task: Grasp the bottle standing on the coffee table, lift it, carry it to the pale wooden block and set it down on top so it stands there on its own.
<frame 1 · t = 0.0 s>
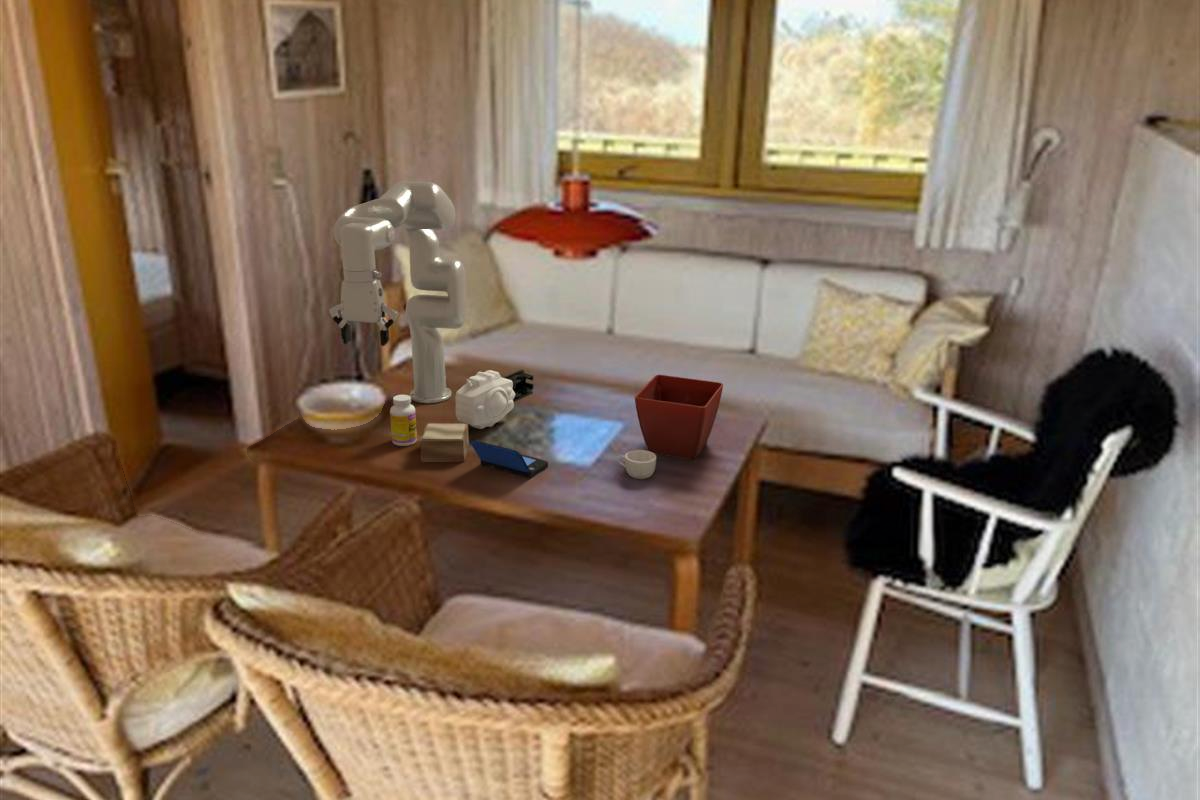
hand: (365, 343, 229), 31 cm above the table, fingers open, 9 cm apart
supplement bottle: (404, 442, 250), on the table
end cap: (515, 395, 284), on the table
teacup: (636, 475, 233), on the table
camera: (487, 426, 261), on the table
pale wooden block: (445, 452, 243), on the table
plant pot: (677, 448, 248), on the table
handheld game console: (510, 470, 235), on the table
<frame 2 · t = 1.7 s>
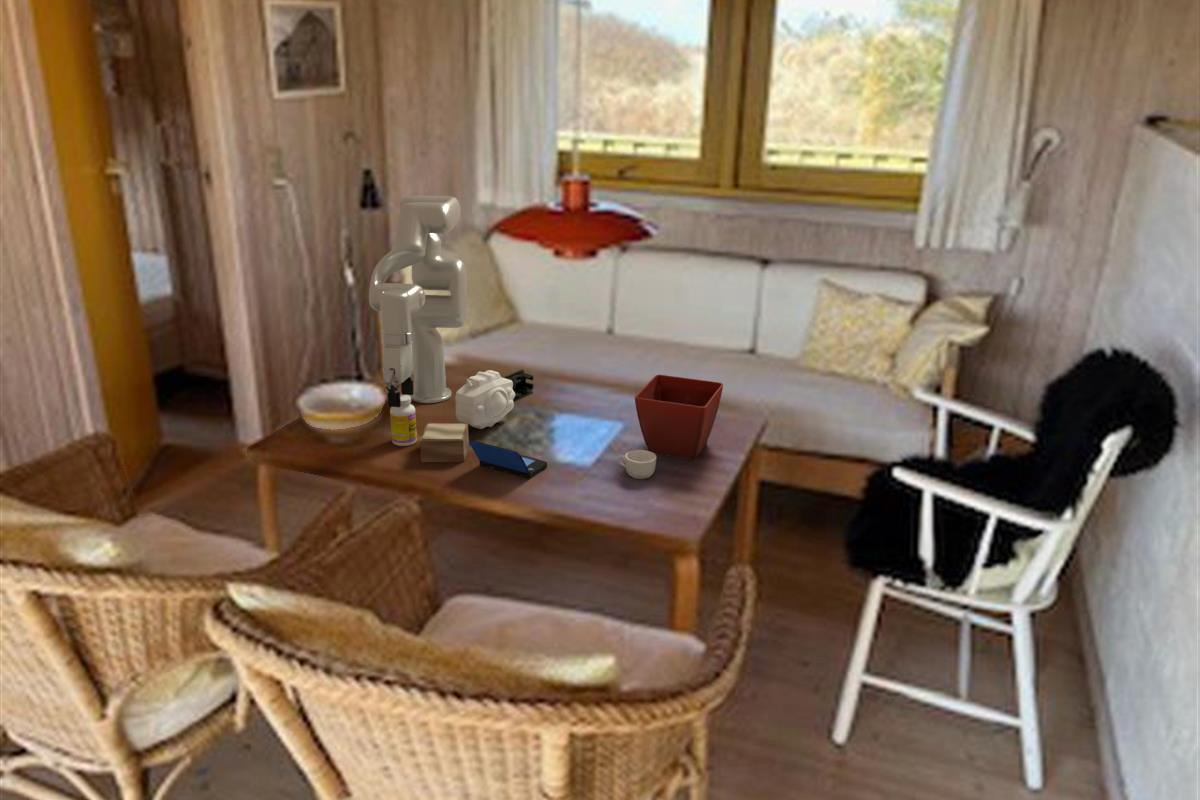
hand: (401, 400, 244), 12 cm above the table, fingers open, 9 cm apart
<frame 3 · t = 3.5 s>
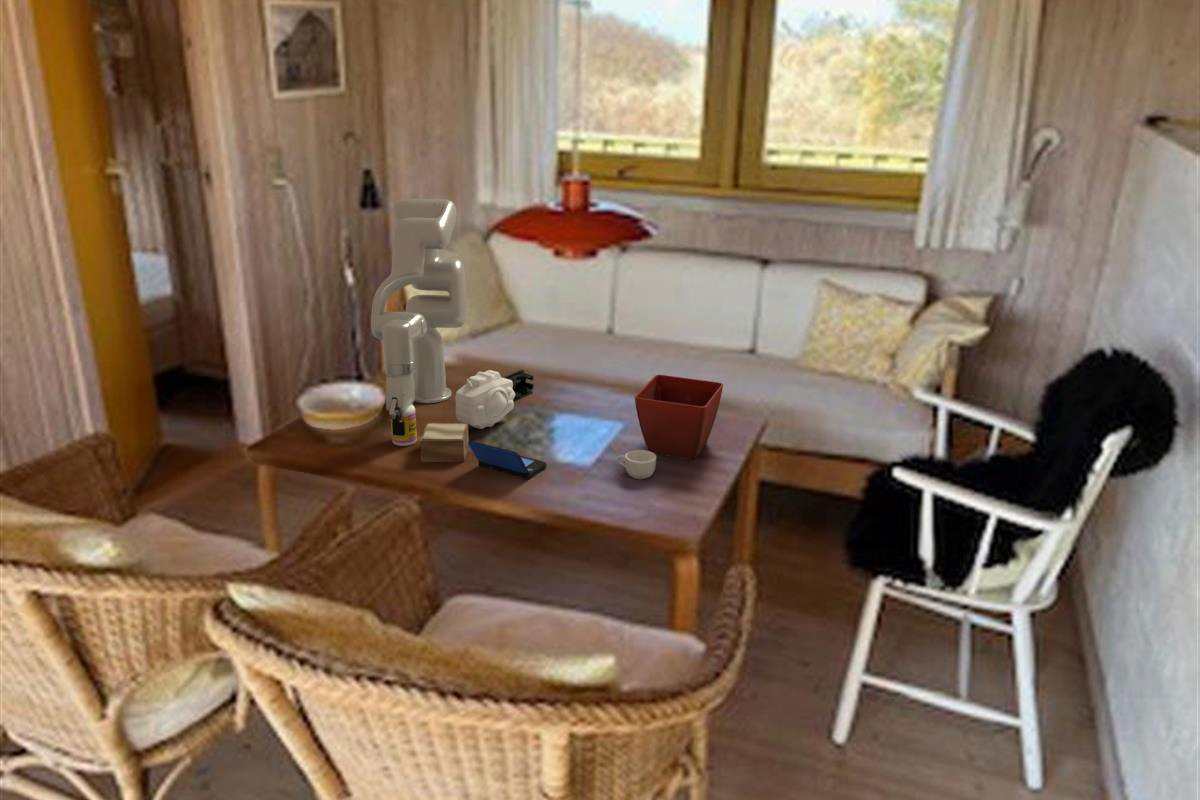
hand: (403, 429, 248), 4 cm above the table, fingers closed on supplement bottle, 6 cm apart
supplement bottle: (404, 442, 250), on the table, touching gripper
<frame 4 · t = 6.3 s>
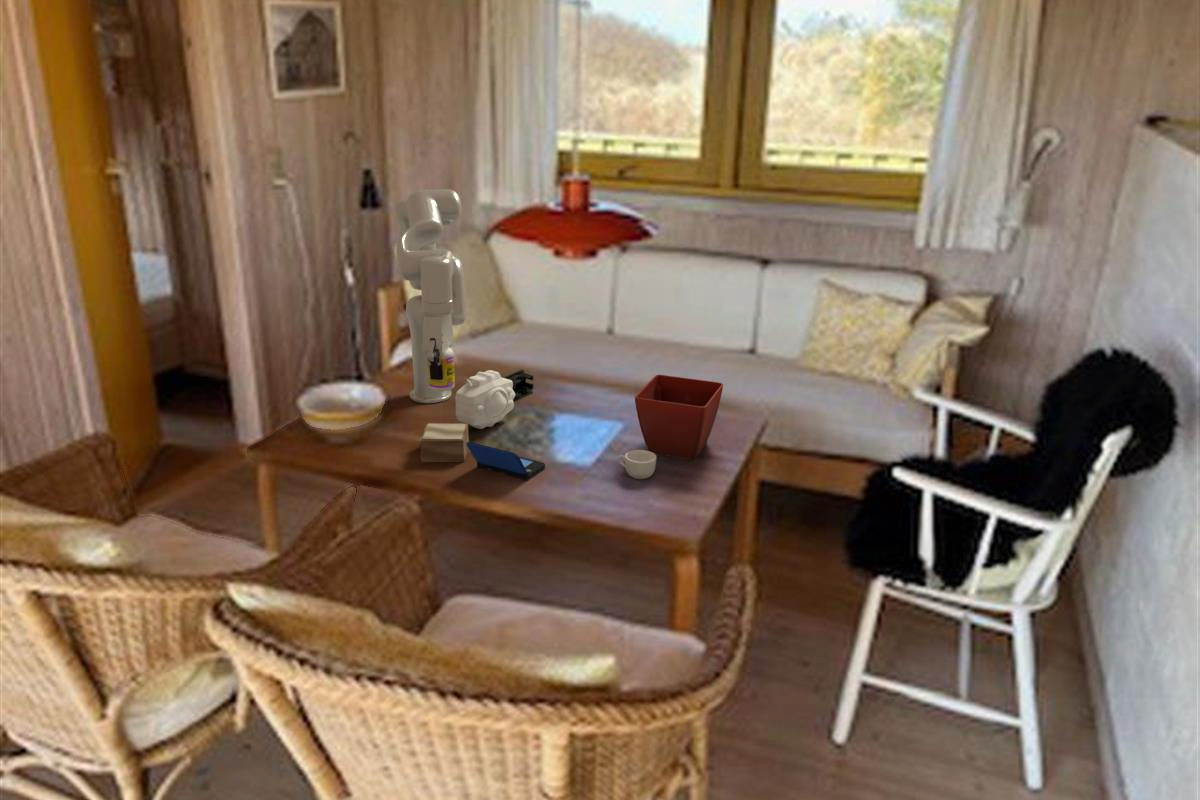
hand: (441, 373, 235), 22 cm above the table, fingers closed on supplement bottle, 6 cm apart
supplement bottle: (442, 388, 237), point 18 cm above the table, touching gripper
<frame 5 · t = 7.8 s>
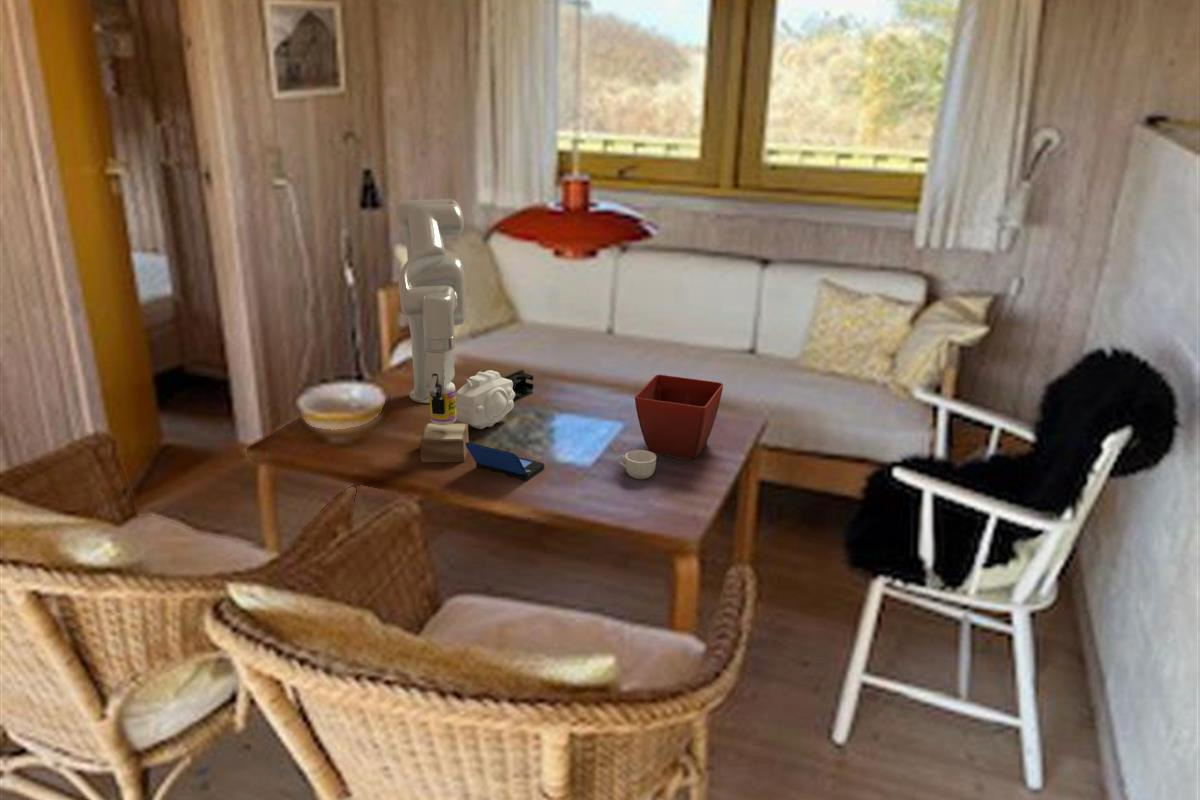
hand: (443, 407, 238), 13 cm above the table, fingers closed on supplement bottle, 6 cm apart
supplement bottle: (443, 421, 240), point 9 cm above the table, touching gripper
when the fingers open (11 cm above the table, at t = 9.1 s): supplement bottle drops 1 cm, resting on pale wooden block.
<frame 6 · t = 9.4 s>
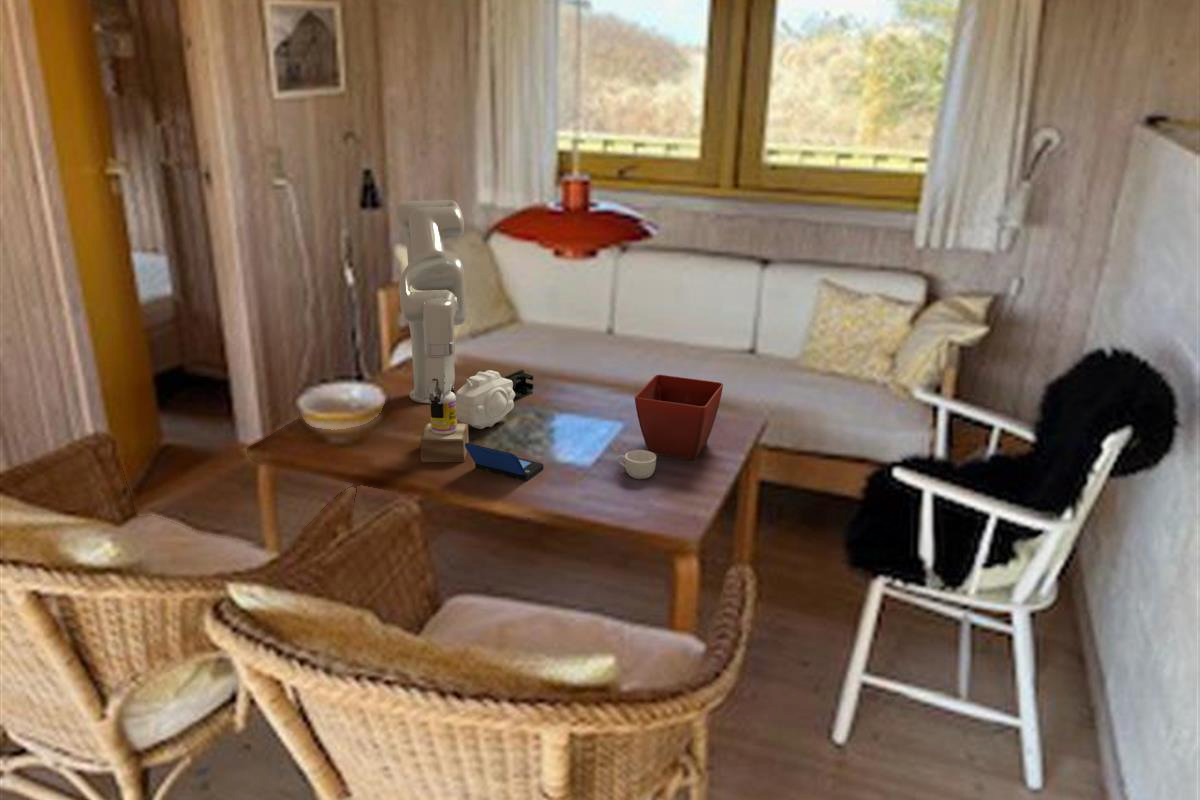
hand: (443, 410, 239), 12 cm above the table, fingers open, 9 cm apart
supplement bottle: (444, 431, 241), point 6 cm above the table, touching pale wooden block
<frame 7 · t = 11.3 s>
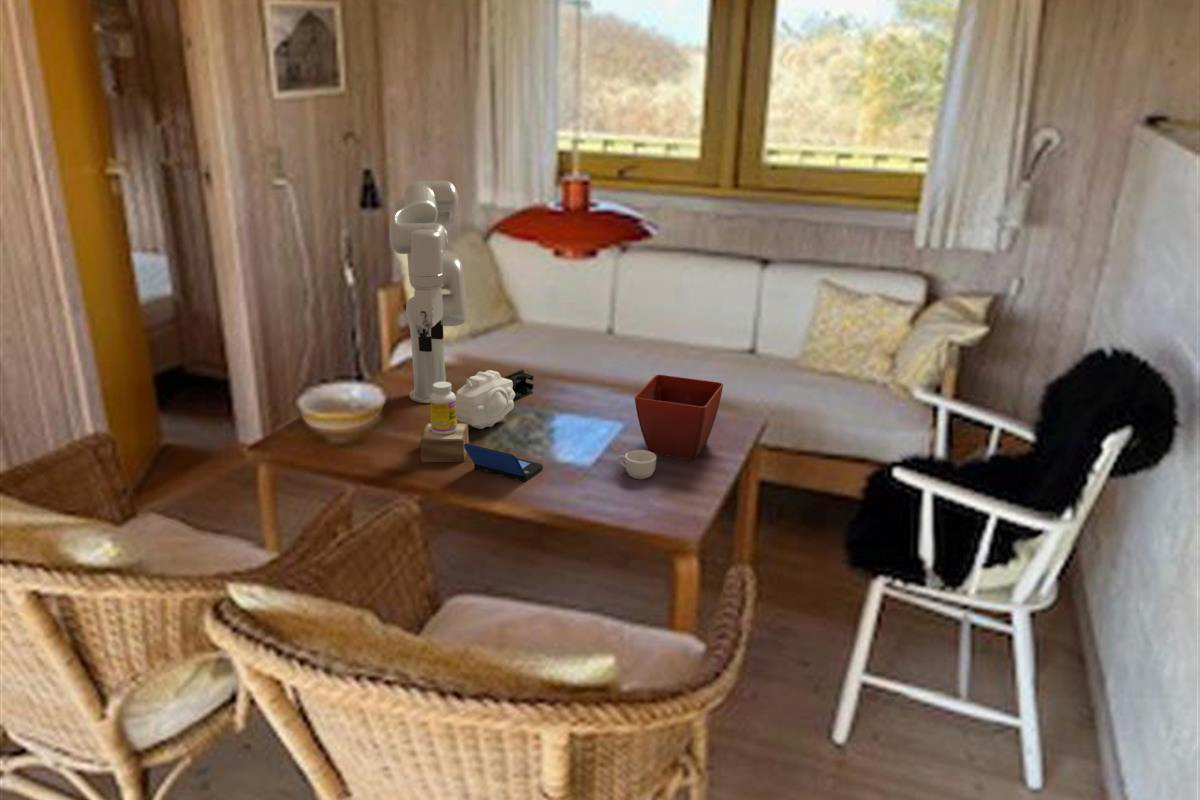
hand: (431, 344, 236), 29 cm above the table, fingers open, 9 cm apart
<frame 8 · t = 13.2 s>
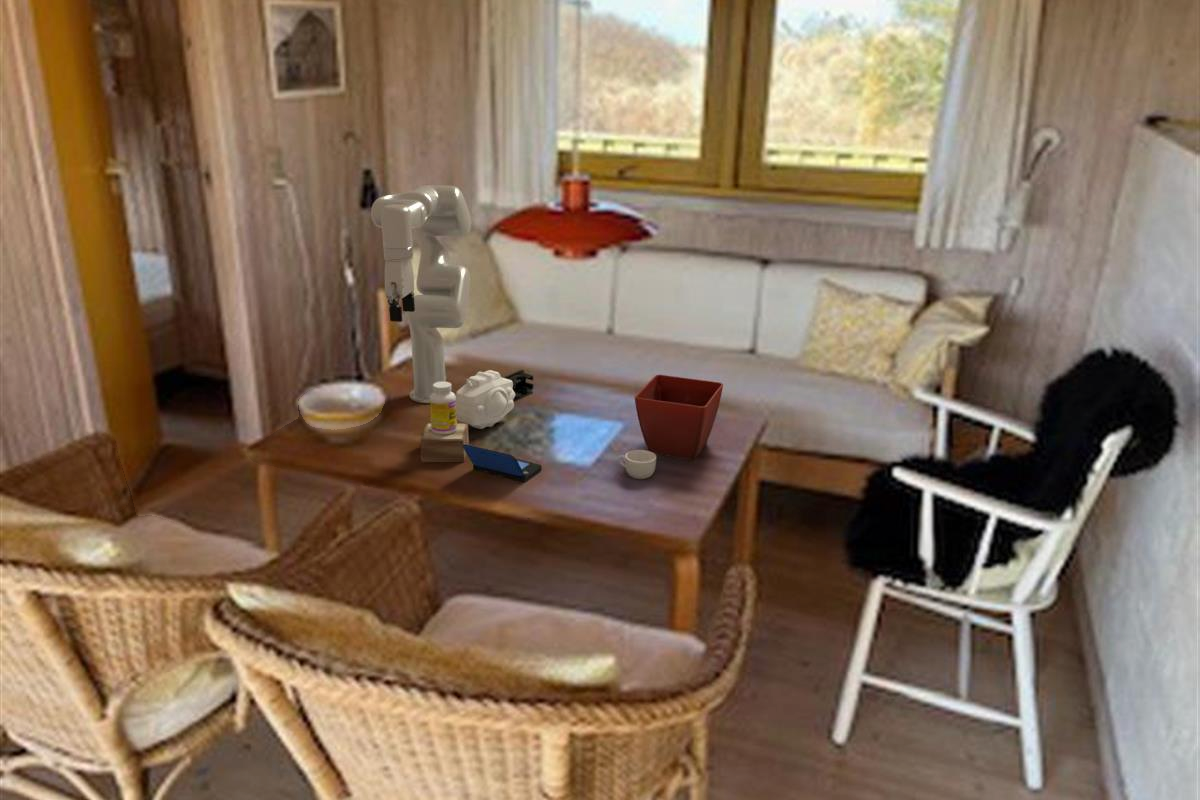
hand: (402, 316, 247), 32 cm above the table, fingers open, 9 cm apart
at the end: supplement bottle inside the target area on the pale wooden block (0.3 cm from its centre), point 6.1 cm above the pale wooden block's base; supplement bottle tilted 0°; supplement bottle touching pale wooden block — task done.
